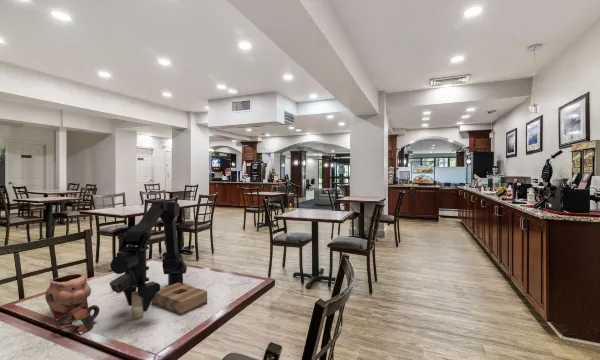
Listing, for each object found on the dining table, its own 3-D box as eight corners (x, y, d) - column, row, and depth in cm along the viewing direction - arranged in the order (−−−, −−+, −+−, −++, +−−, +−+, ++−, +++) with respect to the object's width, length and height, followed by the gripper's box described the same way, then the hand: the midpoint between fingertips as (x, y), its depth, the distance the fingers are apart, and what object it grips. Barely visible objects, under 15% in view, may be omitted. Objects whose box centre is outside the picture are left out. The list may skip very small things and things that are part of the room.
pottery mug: (72, 341, 91) (58, 319, 90) (60, 347, 95) (47, 325, 95) (110, 315, 101) (97, 295, 101) (97, 321, 106) (85, 302, 105)
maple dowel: (129, 318, 104) (129, 293, 104) (139, 314, 107) (139, 289, 107) (135, 320, 103) (135, 295, 103) (145, 316, 106) (145, 291, 106)
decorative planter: (32, 316, 106) (31, 278, 106) (70, 303, 117) (69, 268, 117) (65, 328, 98) (64, 286, 98) (102, 312, 109) (102, 275, 109)
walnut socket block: (151, 304, 116) (151, 291, 116) (178, 294, 126) (178, 282, 126) (180, 315, 106) (180, 301, 106) (207, 303, 117) (207, 291, 117)
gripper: (99, 266, 103) (99, 311, 103) (128, 275, 93) (129, 324, 93) (131, 259, 112) (131, 299, 113) (161, 266, 103) (161, 311, 103)
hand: (137, 308), depth 105 cm, fingers open, 9 cm apart
